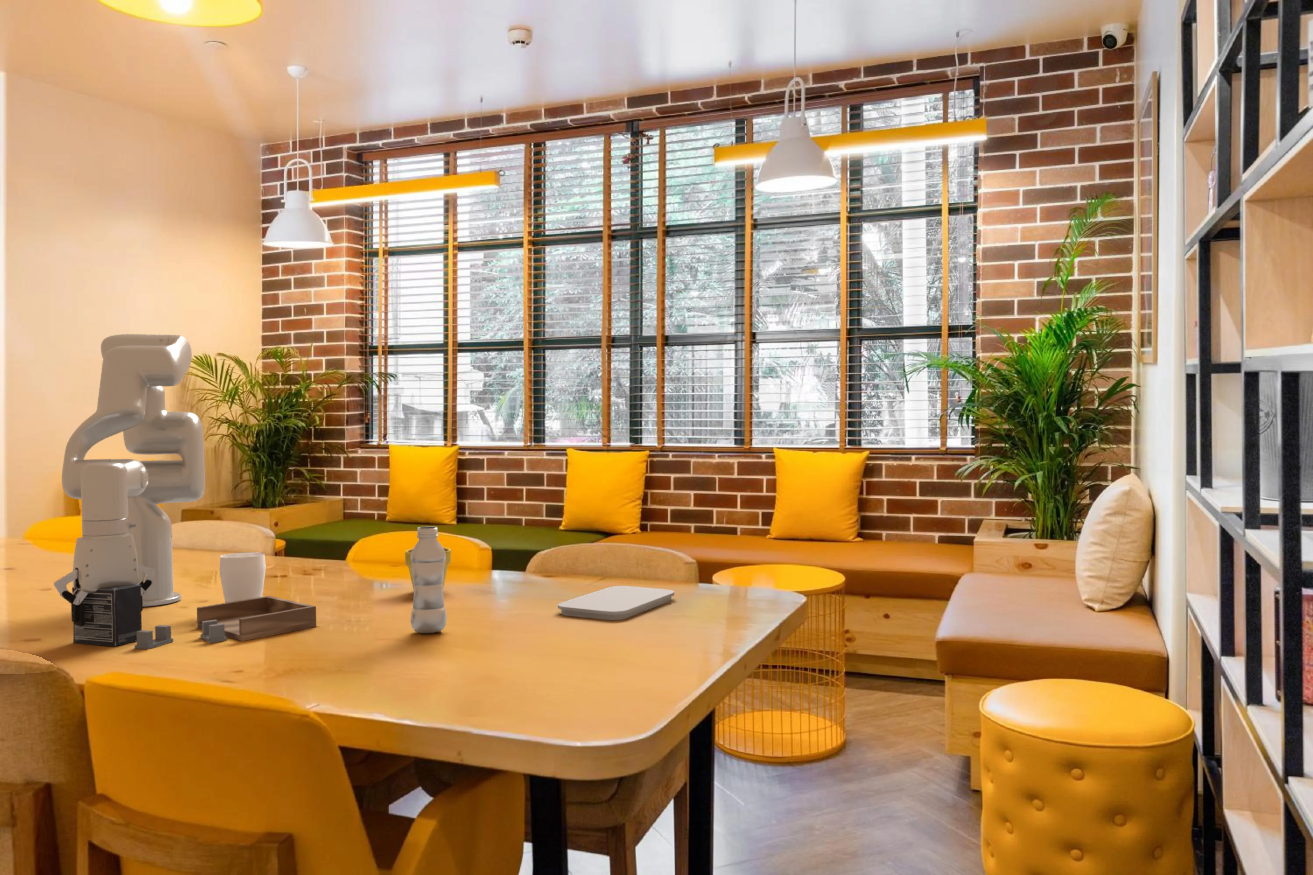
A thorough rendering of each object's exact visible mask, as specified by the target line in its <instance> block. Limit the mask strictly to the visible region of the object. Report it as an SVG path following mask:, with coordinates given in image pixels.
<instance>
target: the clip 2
mask: <svg viewBox="0 0 1313 875" xmlns="http://www.w3.org/2000/svg"><path fill="white" fill-rule="evenodd" d="M201 631H202V633H201V634H199V635H200V638H201V639H202V640H203V641H206V642H207V643H209V644H211V643H218V642H219V643H221V642H225V641H227V640H228V639H227V638H228V637H227V636H225V626H224V624H223V623H221V624H218V623H217V620H209V621H202V629H201Z"/></svg>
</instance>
